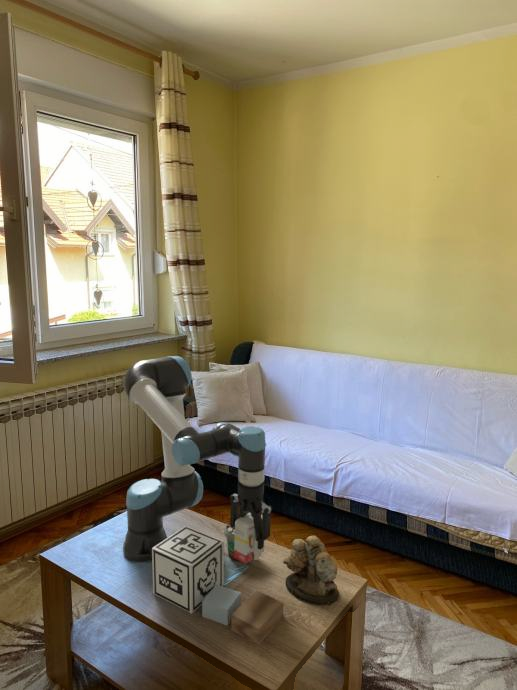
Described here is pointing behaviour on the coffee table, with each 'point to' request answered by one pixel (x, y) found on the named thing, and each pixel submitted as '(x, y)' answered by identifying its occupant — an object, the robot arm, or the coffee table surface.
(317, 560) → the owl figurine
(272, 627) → the walnut block
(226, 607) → the slate block
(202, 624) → the coffee table surface
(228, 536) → the food container
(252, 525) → the ink box
